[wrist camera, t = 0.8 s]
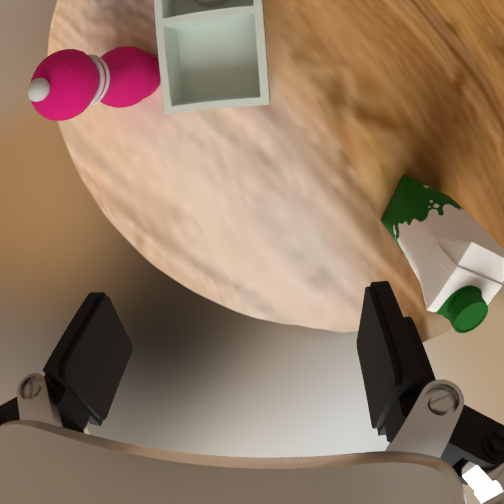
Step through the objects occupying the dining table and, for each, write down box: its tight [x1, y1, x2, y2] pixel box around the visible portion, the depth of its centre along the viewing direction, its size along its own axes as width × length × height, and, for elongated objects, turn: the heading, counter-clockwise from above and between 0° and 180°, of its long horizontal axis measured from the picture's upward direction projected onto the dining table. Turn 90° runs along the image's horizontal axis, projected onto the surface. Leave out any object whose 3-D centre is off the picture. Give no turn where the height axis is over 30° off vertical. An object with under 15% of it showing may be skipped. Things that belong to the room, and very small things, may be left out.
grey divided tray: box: [154, 0, 270, 115], centre depth 26 cm, size 20×11×6 cm, turn 4°
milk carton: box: [381, 176, 504, 333], centre depth 30 cm, size 9×9×20 cm
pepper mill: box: [27, 47, 161, 121], centre depth 23 cm, size 7×7×20 cm
